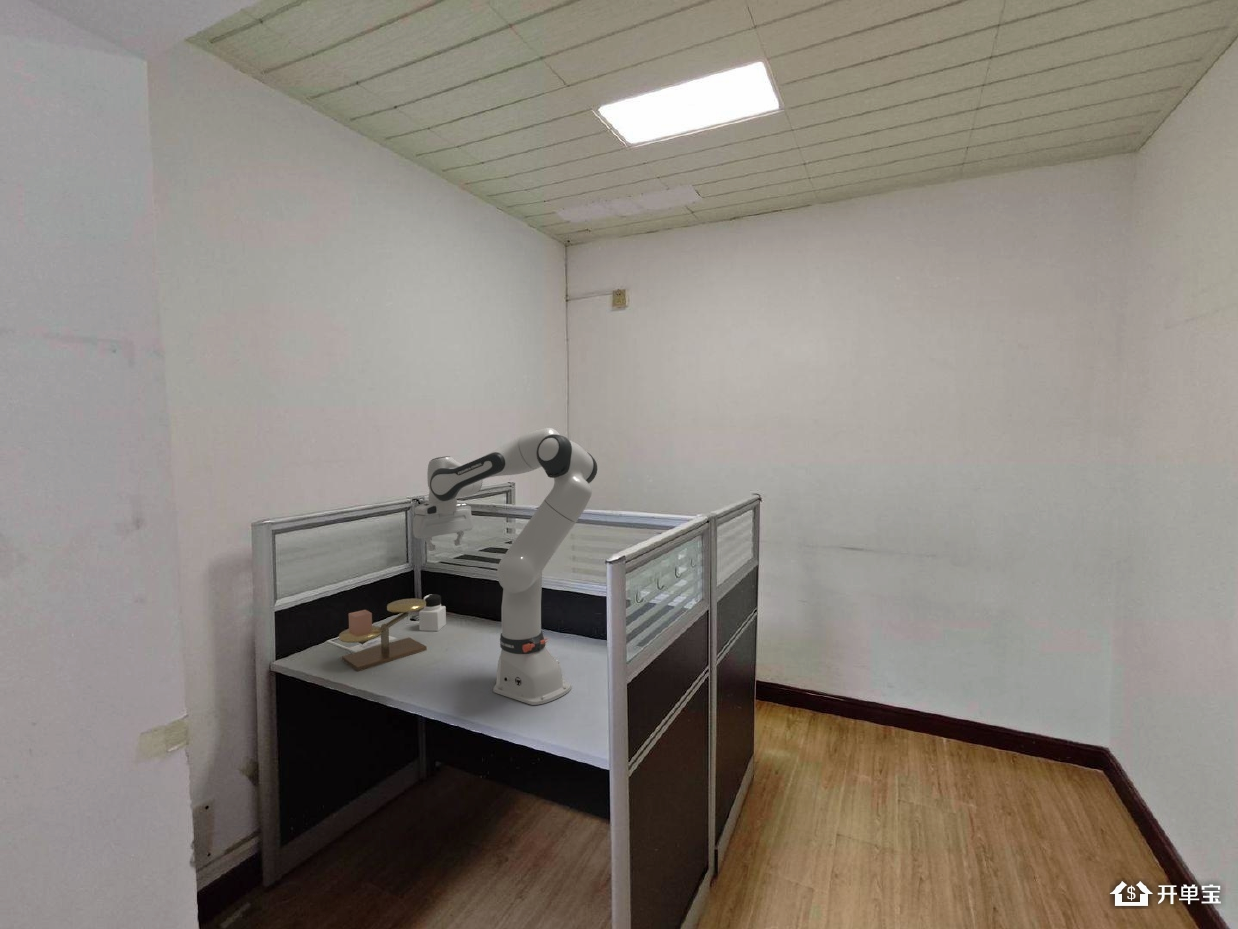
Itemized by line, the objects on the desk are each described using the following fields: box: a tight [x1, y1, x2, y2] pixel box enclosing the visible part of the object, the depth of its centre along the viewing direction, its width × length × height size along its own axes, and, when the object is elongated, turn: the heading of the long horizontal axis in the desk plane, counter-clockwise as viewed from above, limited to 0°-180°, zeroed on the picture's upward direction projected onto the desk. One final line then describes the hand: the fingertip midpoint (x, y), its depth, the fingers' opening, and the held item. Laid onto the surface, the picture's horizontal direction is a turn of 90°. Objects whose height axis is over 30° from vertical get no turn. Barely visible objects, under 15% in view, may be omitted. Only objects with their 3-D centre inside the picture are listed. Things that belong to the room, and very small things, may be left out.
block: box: [348, 609, 373, 636], centre depth 169 cm, size 5×5×6 cm
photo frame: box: [326, 635, 398, 654], centre depth 187 cm, size 15×1×18 cm
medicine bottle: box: [418, 593, 447, 632], centre depth 200 cm, size 7×7×12 cm
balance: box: [338, 598, 427, 672], centre depth 175 cm, size 12×27×15 cm, turn 137°
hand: (445, 547), depth 179 cm, fingers open, 8 cm apart
